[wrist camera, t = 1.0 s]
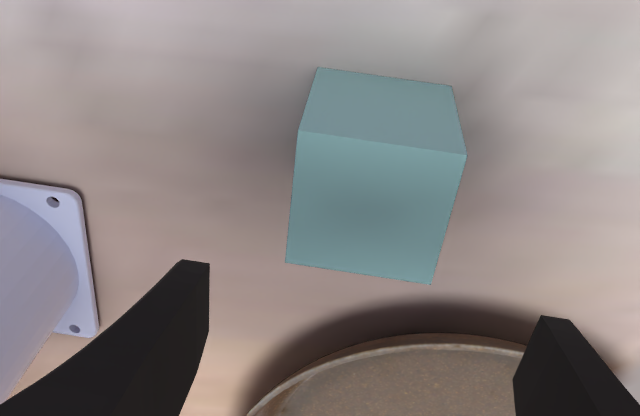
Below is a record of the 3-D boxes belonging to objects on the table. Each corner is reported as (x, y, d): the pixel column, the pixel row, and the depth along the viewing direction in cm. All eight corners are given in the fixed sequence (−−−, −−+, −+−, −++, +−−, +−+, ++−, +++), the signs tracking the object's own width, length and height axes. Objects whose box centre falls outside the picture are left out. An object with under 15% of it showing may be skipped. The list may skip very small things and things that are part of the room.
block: (305, 180, 22) (284, 262, 18) (318, 66, 20) (297, 130, 15) (423, 198, 22) (430, 284, 18) (451, 85, 19) (467, 155, 15)
